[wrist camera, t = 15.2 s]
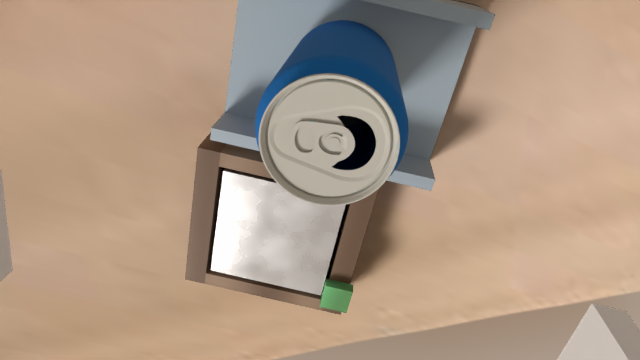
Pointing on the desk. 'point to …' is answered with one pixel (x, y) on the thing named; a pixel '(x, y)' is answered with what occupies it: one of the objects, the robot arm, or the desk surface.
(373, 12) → the trough
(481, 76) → the desk surface
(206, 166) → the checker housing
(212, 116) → the desk surface
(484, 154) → the desk surface
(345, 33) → the beverage can
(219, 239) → the grey flat square plate
